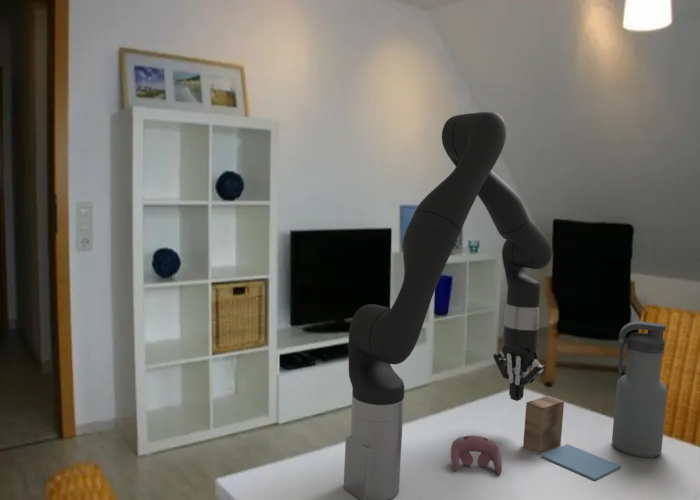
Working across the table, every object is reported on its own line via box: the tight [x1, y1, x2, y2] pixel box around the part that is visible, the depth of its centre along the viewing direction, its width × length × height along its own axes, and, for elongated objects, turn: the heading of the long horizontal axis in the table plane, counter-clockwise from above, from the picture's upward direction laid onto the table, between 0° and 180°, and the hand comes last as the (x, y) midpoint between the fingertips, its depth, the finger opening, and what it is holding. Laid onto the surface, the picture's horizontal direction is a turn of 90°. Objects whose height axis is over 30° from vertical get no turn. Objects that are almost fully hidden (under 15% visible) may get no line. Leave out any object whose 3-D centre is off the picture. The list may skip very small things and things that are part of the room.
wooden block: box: [522, 395, 565, 455], centre depth 124 cm, size 8×4×10 cm, turn 128°
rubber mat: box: [540, 443, 622, 482], centre depth 117 cm, size 10×12×1 cm
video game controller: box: [450, 435, 503, 475], centre depth 113 cm, size 10×5×7 cm, turn 85°
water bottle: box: [611, 320, 668, 458], centre depth 124 cm, size 10×10×28 cm
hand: (515, 399), depth 130 cm, fingers closed
